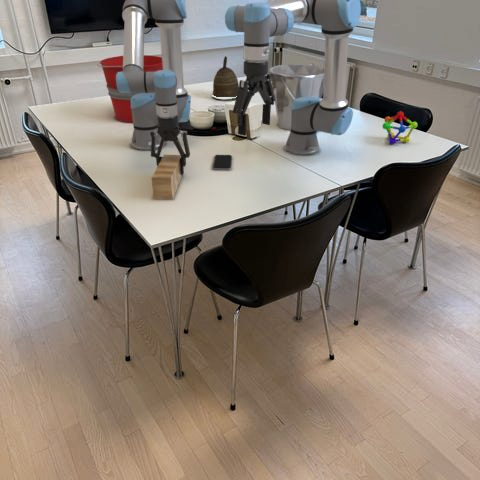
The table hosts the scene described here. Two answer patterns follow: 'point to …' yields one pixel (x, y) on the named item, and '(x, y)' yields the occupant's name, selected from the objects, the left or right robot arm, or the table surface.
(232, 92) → the bell
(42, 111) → the table surface
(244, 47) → the right robot arm
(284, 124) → the bucket
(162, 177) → the box
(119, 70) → the bucket
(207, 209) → the table surface
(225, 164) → the smartphone
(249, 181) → the table surface
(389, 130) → the educational toy
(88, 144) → the table surface
